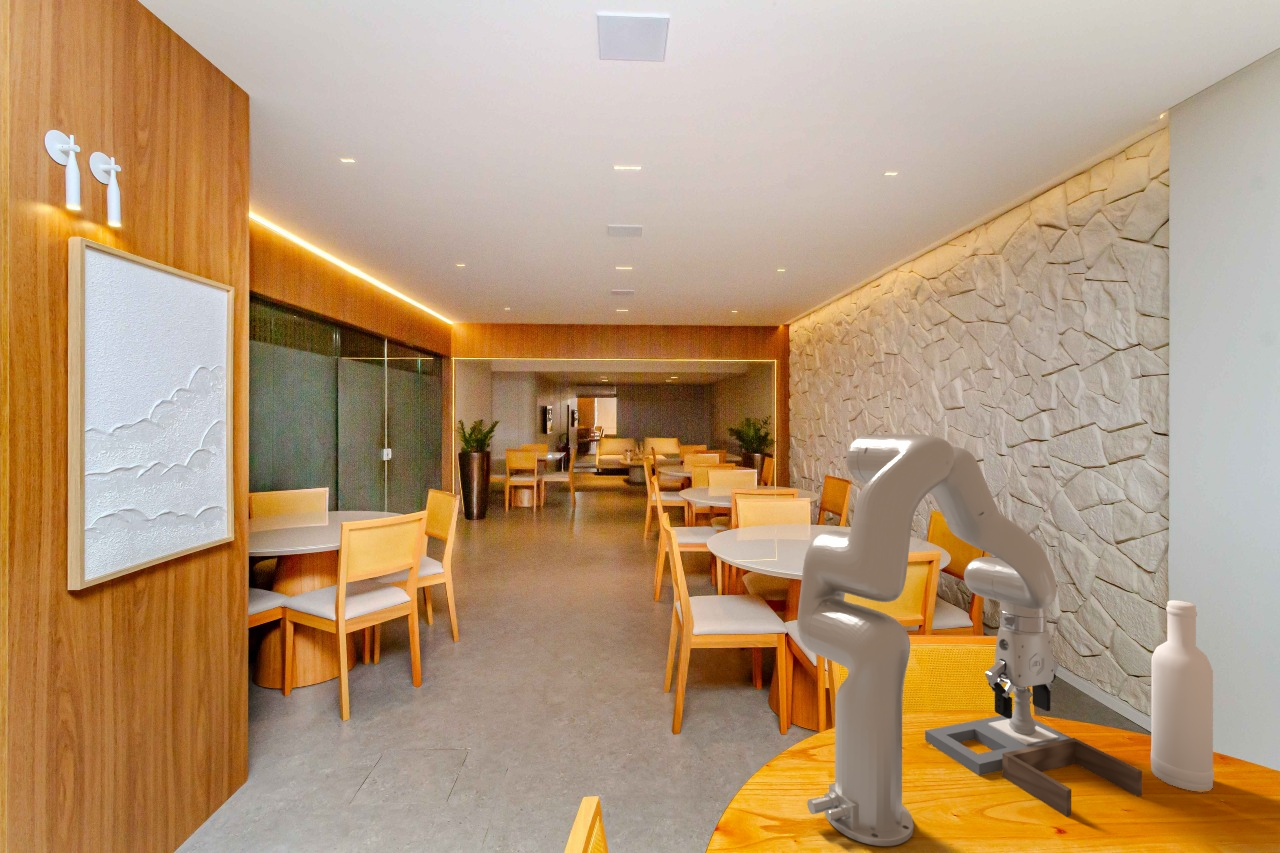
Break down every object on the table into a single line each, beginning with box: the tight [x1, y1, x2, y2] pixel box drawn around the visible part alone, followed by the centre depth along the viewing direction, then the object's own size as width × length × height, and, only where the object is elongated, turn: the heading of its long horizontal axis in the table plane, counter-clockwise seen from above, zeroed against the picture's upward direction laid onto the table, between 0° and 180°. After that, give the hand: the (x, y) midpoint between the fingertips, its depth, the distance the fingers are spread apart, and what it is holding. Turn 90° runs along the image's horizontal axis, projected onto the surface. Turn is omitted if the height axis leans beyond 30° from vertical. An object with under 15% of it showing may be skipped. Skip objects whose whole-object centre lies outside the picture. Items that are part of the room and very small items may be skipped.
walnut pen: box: [1001, 737, 1143, 817], centre depth 99 cm, size 17×11×4 cm, turn 109°
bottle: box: [1150, 599, 1215, 792], centre depth 101 cm, size 8×8×30 cm
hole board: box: [924, 715, 1072, 776], centre depth 112 cm, size 24×12×2 cm, turn 109°
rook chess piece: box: [1009, 686, 1036, 735], centre depth 113 cm, size 4×4×8 cm
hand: (1022, 711), depth 113 cm, fingers open, 9 cm apart
